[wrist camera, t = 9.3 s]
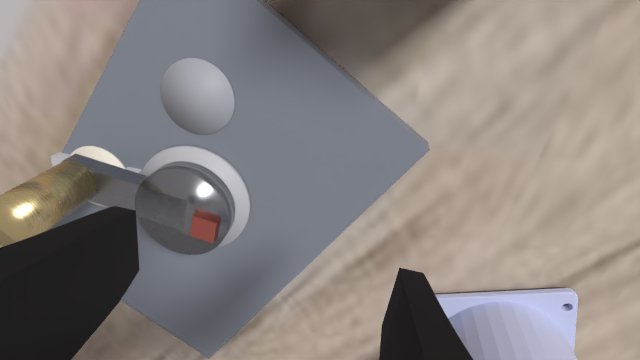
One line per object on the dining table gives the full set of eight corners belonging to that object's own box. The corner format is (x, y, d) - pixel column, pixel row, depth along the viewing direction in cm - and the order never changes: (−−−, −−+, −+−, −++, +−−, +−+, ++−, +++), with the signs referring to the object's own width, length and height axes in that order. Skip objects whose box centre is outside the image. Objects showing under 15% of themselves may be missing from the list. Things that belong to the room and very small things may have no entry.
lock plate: (427, 142, 19) (431, 154, 18) (214, 346, 28) (205, 366, 26) (183, -70, 17) (164, -75, 16) (31, 223, 25) (10, 237, 24)
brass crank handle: (243, 178, 20) (197, 238, 15) (227, 253, 22) (183, 327, 17) (69, 123, 20) (-30, 166, 15) (70, 203, 22) (-15, 263, 17)
